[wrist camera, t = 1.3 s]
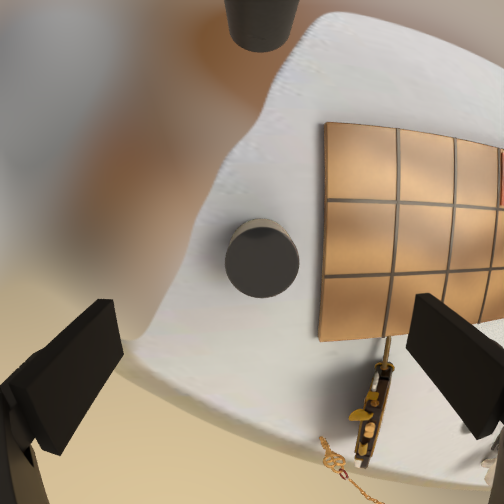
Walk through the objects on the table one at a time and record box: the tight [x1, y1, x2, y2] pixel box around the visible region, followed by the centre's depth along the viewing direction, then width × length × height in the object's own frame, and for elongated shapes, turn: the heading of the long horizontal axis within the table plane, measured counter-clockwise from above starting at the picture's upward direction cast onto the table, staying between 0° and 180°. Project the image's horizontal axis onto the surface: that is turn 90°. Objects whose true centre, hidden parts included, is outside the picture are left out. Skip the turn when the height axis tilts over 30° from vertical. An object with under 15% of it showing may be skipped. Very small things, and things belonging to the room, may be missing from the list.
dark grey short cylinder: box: [225, 219, 299, 298], centre depth 23 cm, size 5×5×4 cm
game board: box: [318, 122, 504, 342], centre depth 24 cm, size 18×24×1 cm
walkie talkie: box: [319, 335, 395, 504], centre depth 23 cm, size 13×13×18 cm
